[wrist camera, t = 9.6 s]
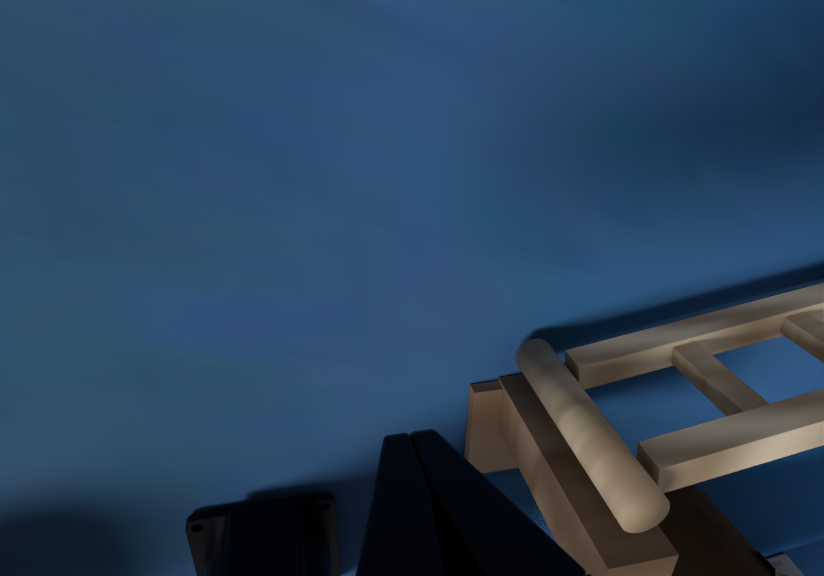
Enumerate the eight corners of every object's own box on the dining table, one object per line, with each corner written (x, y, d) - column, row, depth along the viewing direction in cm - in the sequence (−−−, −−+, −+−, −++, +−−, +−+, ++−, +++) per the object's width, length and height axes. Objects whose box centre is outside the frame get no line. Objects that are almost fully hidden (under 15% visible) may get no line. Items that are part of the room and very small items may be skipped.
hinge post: (558, 451, 28) (675, 643, 20) (463, 466, 27) (545, 674, 19) (574, 367, 26) (715, 547, 18) (470, 380, 25) (568, 577, 17)
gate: (516, 373, 24) (619, 539, 17) (514, 343, 23) (622, 504, 16) (854, 283, 26) (1076, 398, 19) (863, 253, 25) (1098, 361, 18)
